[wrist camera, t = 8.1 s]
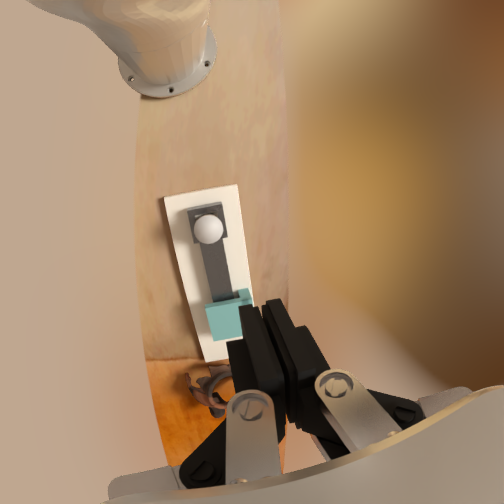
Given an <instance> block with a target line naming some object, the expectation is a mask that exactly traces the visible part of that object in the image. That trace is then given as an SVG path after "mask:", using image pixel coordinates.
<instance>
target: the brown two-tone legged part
mask: <svg viewBox="0 0 504 504" xmlns="http://www.w3.org/2000/svg"><path fill="white" fill-rule="evenodd" d="M208 367H209V369H210V373H211V377H203V378H198V379H197V381H196V382H197V383H198V384H199V385H200V387H201V388H196V387H194V386H192V385H191V378H190V377H189V374H188V373H186V381H187V384H188V388H189V390H190V392H191V393H192V395H193V396H194V397H195V399H196V400H197V401H199V402H200V403H202V404H203V405H205V406H209V409H210V413H211V415H212V416H213V417H215V418H220V417H222V416H223V415H224V414H225V409H226V408H227V405H228V402H229V401H228V402H226V401H224V400H223V399H222V398H221V397H220V395H219V394H218V392H214V393H212V391H213V388H214V386H215V385H216V383H217V382H218V381H219V380H221V379H222V378H225V377H227V376H232V373H231V367H230V365H229V364H228V365H221V366H218V367H213V366H208ZM204 392H205V393H204Z"/></svg>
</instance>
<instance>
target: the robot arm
mask: <svg viewBox="0 0 504 504" xmlns="http://www.w3.org/2000/svg"><path fill="white" fill-rule="evenodd" d="M27 1H28V2H30V3H32V4H33V5H35V6H36V7H38V8H40V9H42V10H44V11H47V12H49V13H52V14H55V15H57V16H60V17H63V18H66V19H70V20H73V21H76V22H79V23H82V24H83V25H85V26H86V27H88V28H89V29H91V30H92V31H93V32H94V33H95V34H96V35H97V36H98V37H99V38H100V39H101V40H102V41H103V42H104V43H105V44H106V45H107V46H108V47H109V48H110V49H111V50H112V51H113V52H114V53H115V54H116V55H117V56H118V65H119V70H120V73H121V75H122V77H123V79H124V80H125V81H126V83H127V84H128V85H129V86H130V87H131V88H132V89H134V90H135V91H137V92H139V93H141V94H143V95H146V96H150V97H155V98H167V97H174V96H177V95H180V94H183V93H185V92H187V91H189V90H191V89H193V88H194V87H196V86H197V85H198V84H200V83H201V82H202V81H203V80H204V79H205V78H206V77H207V75H208V74H209V72H210V71H211V69H212V67H213V65H214V62H215V59H216V54H217V43H216V38H215V36H214V33H213V31H212V30H211V28H210V27H209V25H208V17H209V9H210V1H211V0H27ZM205 64H208V65H209V66H208V67H206V66H205ZM132 78H134V80H133V81H131V79H132ZM171 89H173V92H172V93H170V92H169V91H170V90H171ZM238 309H239V316H240V322H241V329H242V335H243V339H238V340H232V341H227V342H226V346H227V352H228V357H229V362H230V367H231V373H232V378H233V383H234V388H235V393H236V394H235V395H234V396H233V397H232V398H231V399H230V401H229V402H228V405H227V417H226V418H225V420H224V421H223V422H222V423H221V424H220V425H219V426H218V427H217V428H216V429H215V430H214V431H213V432H212V433H211V434H210V435H209V436H208V437H207V438H206V440H205V441H204V442H203V443H202V444H201V445H200V446H199V447H198V448H197V449H196V450H195V451H194V452H193V453H192V454H191V455H190V456H189V457H188V458H186V459H185V460H184V462H183V463H182V464H181V465H178V466H175V467H171V466H170V465H169V466H166V467H162V468H158V469H154V470H149V471H144V472H140V473H135V474H130V475H124V476H120V477H117V478H115V479H114V480H112V481H111V483H110V484H109V487H108V496H109V500H108V501H105V502H103V503H101V504H504V386H502V385H500V386H493V387H488V388H484V389H481V390H478V391H475V392H472V391H471V390H469V389H468V388H465V387H456V388H453V389H450V390H446V391H443V392H440V393H436V394H433V395H429V396H426V397H422V398H419V399H418V401H415V402H414V401H411V400H409V399H405V398H400V397H396V396H392V395H388V394H384V393H380V392H376V391H372V390H369V389H366V388H365V387H364V386H363V385H362V384H361V383H360V382H359V380H358V379H357V378H356V377H355V376H354V375H353V374H352V373H350V372H348V371H346V370H342V369H330V367H329V365H328V363H327V361H326V360H325V358H324V356H323V355H322V353H321V351H320V349H319V347H318V346H317V344H316V342H315V340H314V338H313V337H312V335H311V333H310V331H309V330H308V328H307V327H306V326H305V325H304V326H300V327H295V326H294V325H293V322H292V320H291V319H290V317H289V315H288V313H287V311H286V309H285V307H284V305H283V303H282V301H281V299H280V298H278V299H273V300H268V301H266V305H262V316H261V313H260V311H259V308H258V306H256V307H253V305H252V304H247V305H242V306H238ZM262 317H263V318H262ZM286 415H287V418H288V420H289V423H294V422H295V425H296V428H297V429H300V428H302V431H304V432H307V433H310V435H311V438H312V440H313V441H314V443H315V444H316V446H317V448H318V449H319V451H320V452H321V454H322V455H323V457H324V458H325V460H326V462H325V463H321V464H319V465H315V466H312V467H308V468H305V469H302V470H297V471H294V472H290V473H286V474H282V473H281V465H280V456H279V447H278V444H279V443H280V442H281V440H282V439H283V438H284V436H285V425H286Z"/></svg>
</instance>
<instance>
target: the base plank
mask: <svg viewBox="0 0 504 504" xmlns="http://www.w3.org/2000/svg"><path fill="white" fill-rule="evenodd" d="M164 202H165V207H166V212H167V216H168V221H169V226H170V230H171V235H172V239H173V244H174V248H175V252H176V256H177V260H178V265H179V269H180V273H181V277H182V281H183V284H184V288H185V292H186V296H187V300H188V303H189V307H190V310H191V314H192V318H193V321H194V325H195V328H196V331H197V335H198V338H199V342H200V345H201V348H202V351H203V355H204V358H205V361H206V362H211V361H216V360H222V359H227V358H229V357H228V352H227V346H226V342H227V341H232V340H238V339H243V336H240V337H235V338H230V339H225V340H219V341H213V337H212V334H211V330H210V326H209V322H208V318H207V314H206V310H205V304H210V303H213V300H212V296H211V292H210V288H209V283H208V279H207V275H206V270H205V266H204V262H203V257H202V253H201V248H200V243H196V244H194V242H193V237H192V232H191V228H190V223H189V218H188V213H187V208H190V207H195V206H200V205H205V204H210V203H215V202H222V205H223V211H224V217H225V223H226V229H227V234H228V237H227V238H223V243H224V249H225V254H226V259H227V265H228V270H229V275H230V280H231V285H232V291H233V296H234V299H236V298H239V293H238V290H239V289H244V288H248V289H249V292H250V295H251V297H252V301H253V295H252V288H251V281H250V273H249V266H248V259H247V252H246V245H245V238H244V231H243V224H242V216H241V209H240V202H239V195H238V187H237V184H229V185H223V186H217V187H212V188H206V189H200V190H195V191H190V192H184V193H179V194H174V195H169V196H164ZM195 217H196V223H195V225H194V234H195V236H196V238H197V239H198V240H199V241H200V242H202V243H205V244H211V243H214V242H216V241H218V240H219V239H220V238H221V236H222V234H223V226H222V223H221V221H220V220H219V219H218V216H217V211H216V212H211V213H206V214H201V215H196V216H195ZM253 307H254V302H253Z"/></svg>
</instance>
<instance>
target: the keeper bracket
mask: <svg viewBox="0 0 504 504" xmlns="http://www.w3.org/2000/svg"><path fill="white" fill-rule="evenodd" d="M238 293H239V298H236V299H231V300H226V301H221V302H215V303H210V304H205V310H206V314H207V318H208V322H209V326H210V330H211V334H212V337H213V341H219V340H225V339H230V338H235V337H240V336H243V335H242V329H241V322H240V316H239V309H238V306H242V305H247V304H252V305H253V301H252V297H251V295H250V292H249V289H248V288H244V289H239V290H238Z"/></svg>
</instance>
